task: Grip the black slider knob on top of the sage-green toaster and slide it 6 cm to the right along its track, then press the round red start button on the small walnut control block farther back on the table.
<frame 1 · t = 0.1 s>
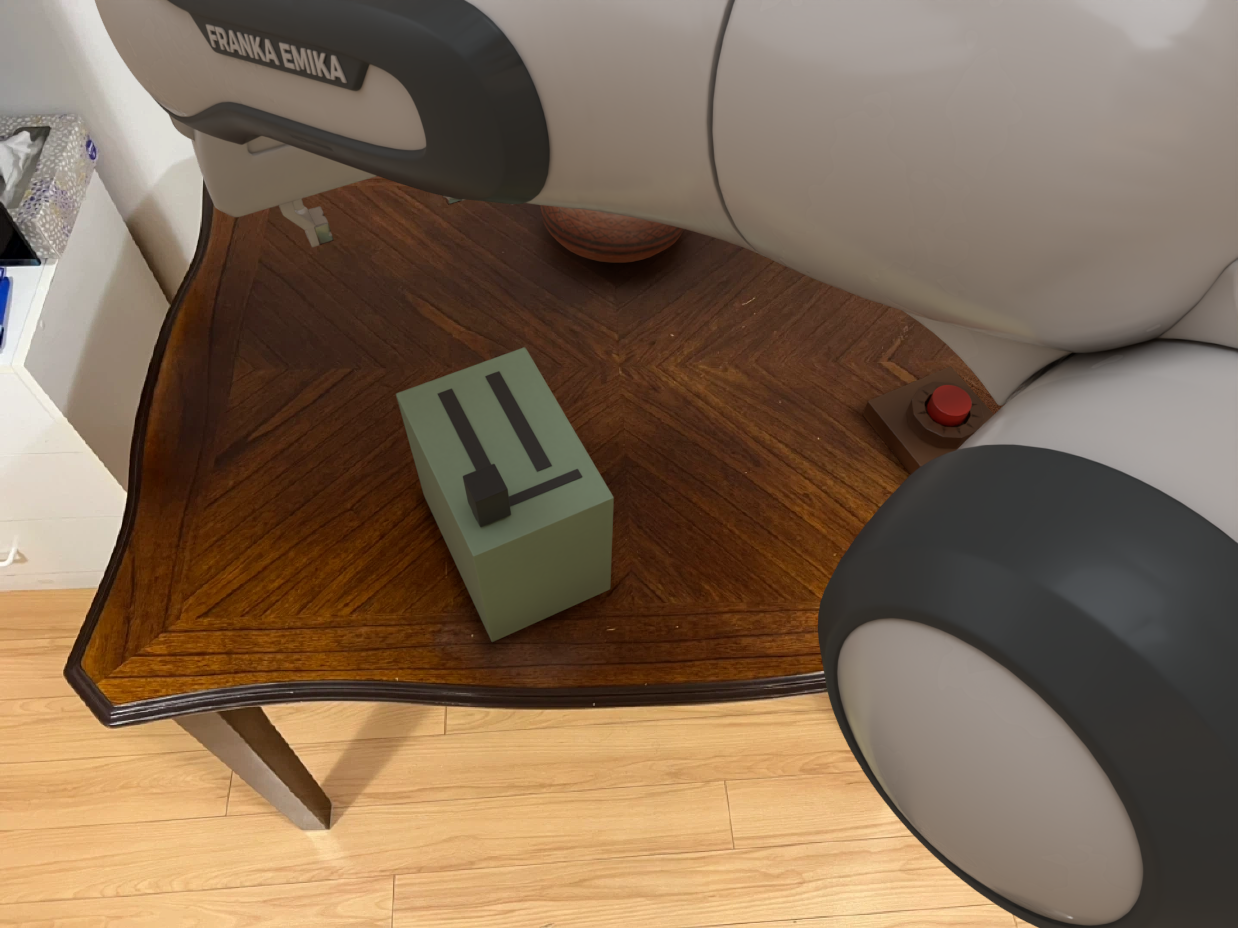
hand: (388, 217, 64), 30 cm above the table, tool pointing down, fingers open, 8 cm apart
toaster: (514, 541, 84), on the table
toaster slider: (487, 495, 67), point 17 cm above the table, slide at 0.0 cm
bowl: (614, 242, 105), on the table
start button: (949, 405, 88), point 4 cm above the table, slide at 0.1 cm
control block: (934, 433, 92), on the table
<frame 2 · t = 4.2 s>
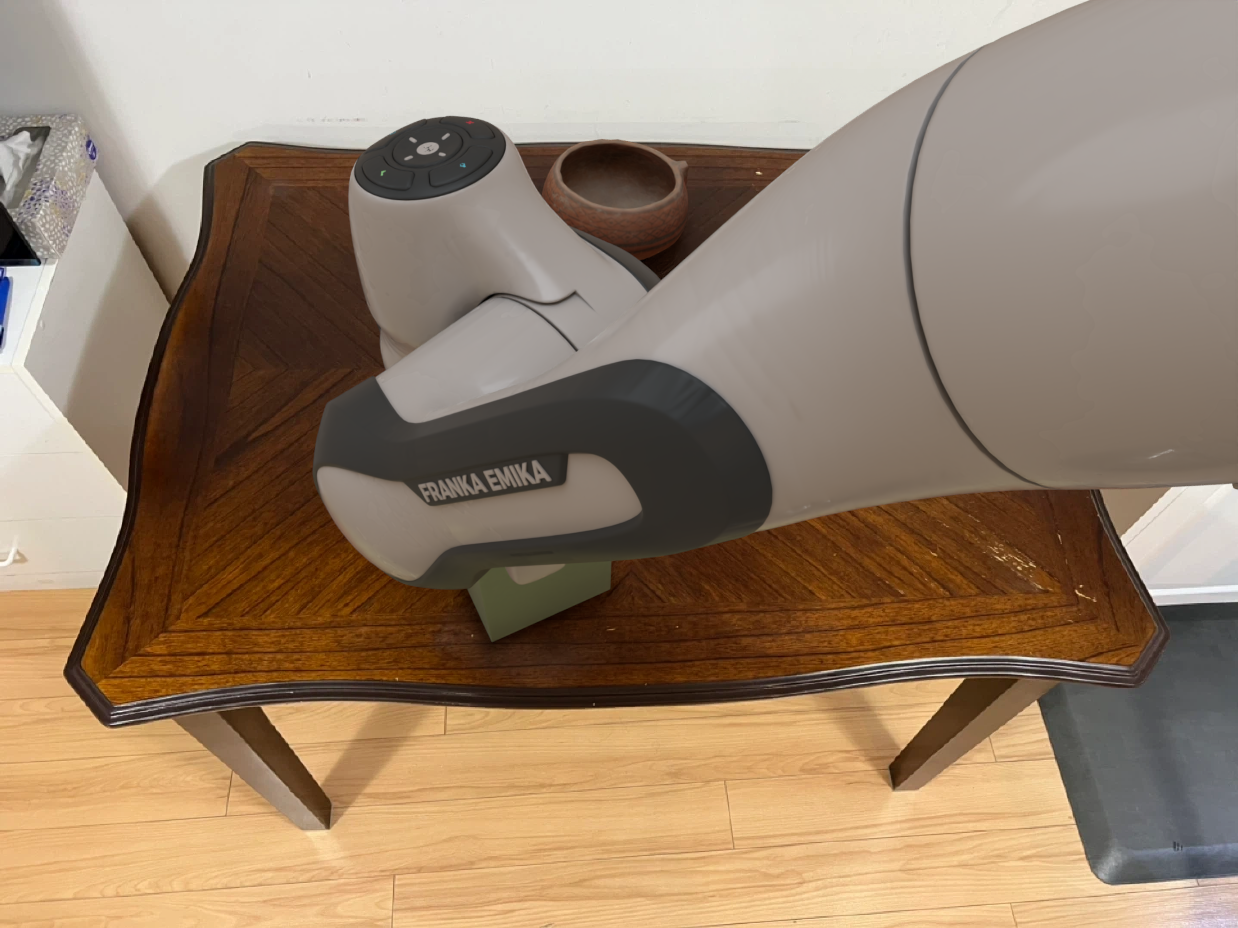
hand: (487, 498, 67), 17 cm above the table, tool pointing down, fingers closed on toaster slider, 2 cm apart
toaster slider: (487, 495, 67), point 17 cm above the table, slide at 0.0 cm, touching gripper
everything else where it was.
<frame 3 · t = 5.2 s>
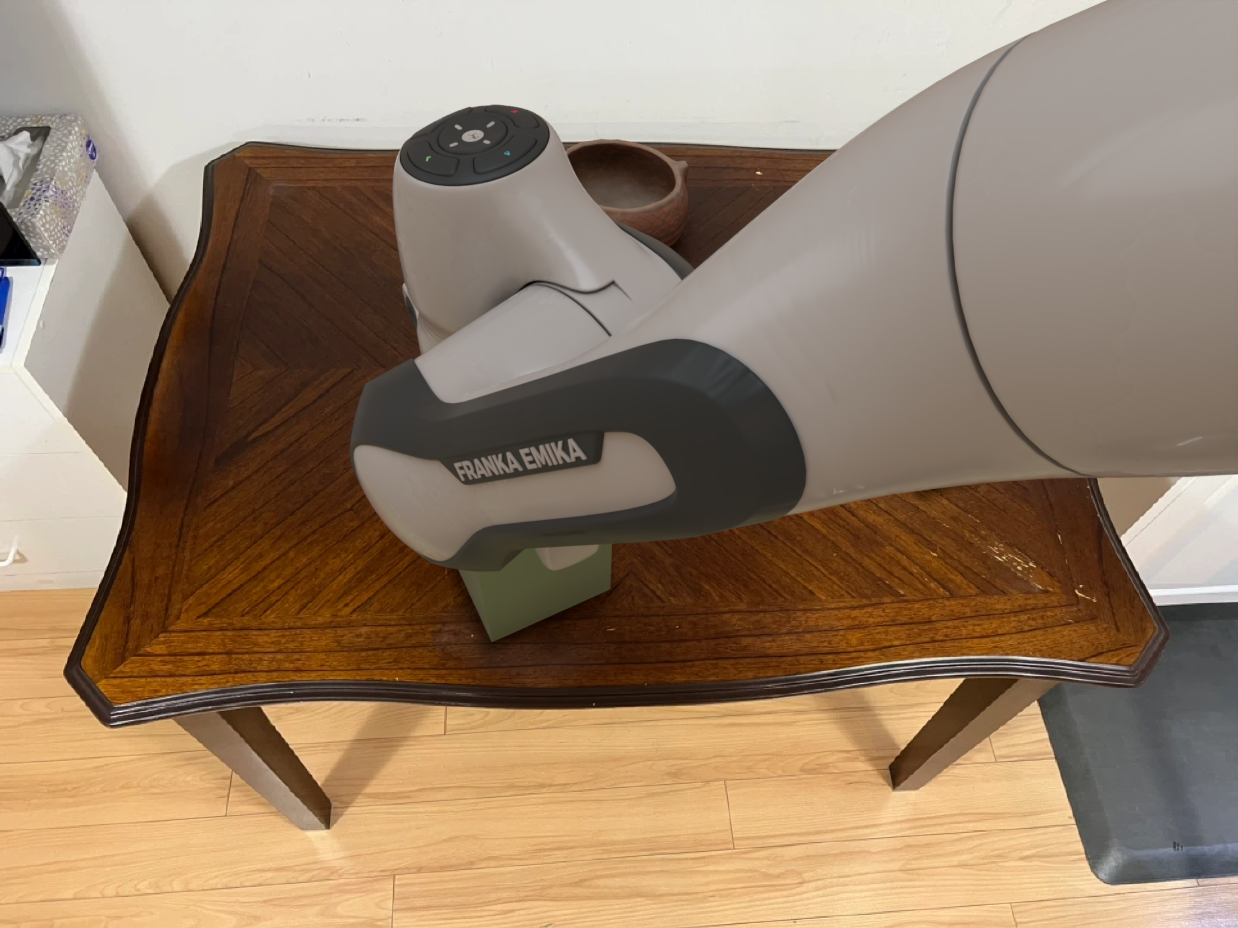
hand: (515, 486, 68), 17 cm above the table, tool pointing down, fingers closed on toaster slider, 2 cm apart
toaster slider: (515, 484, 67), point 17 cm above the table, slide at 2.1 cm, touching gripper
everything else where it was.
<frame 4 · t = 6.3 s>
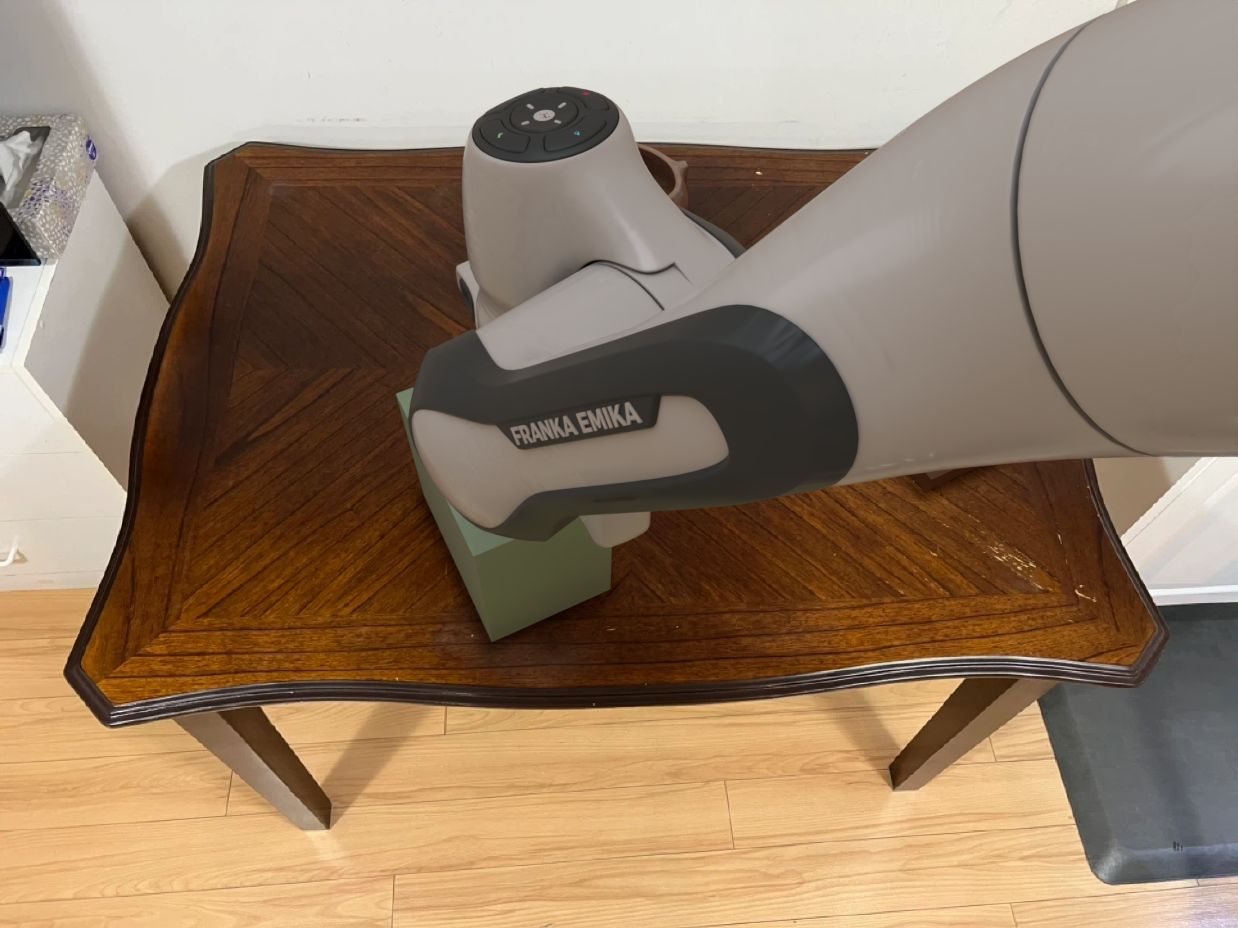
hand: (560, 468, 69), 17 cm above the table, tool pointing down, fingers closed on toaster slider, 2 cm apart
toaster slider: (561, 466, 68), point 17 cm above the table, slide at 5.7 cm, touching gripper
everything else where it was.
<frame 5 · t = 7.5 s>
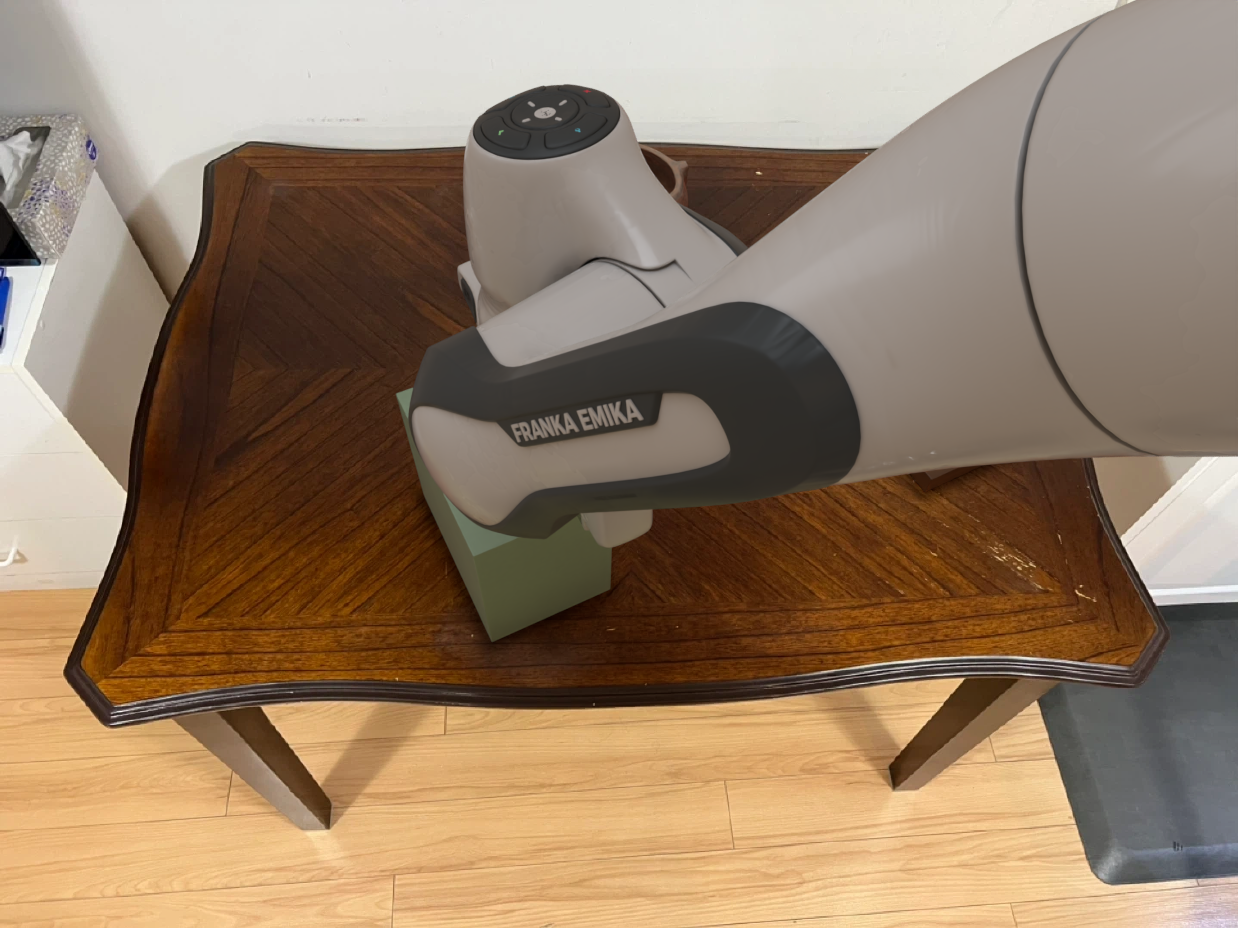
hand: (562, 469, 68), 17 cm above the table, tool pointing down, fingers open, 8 cm apart
toaster slider: (561, 465, 68), point 17 cm above the table, slide at 5.7 cm
everything else where it was.
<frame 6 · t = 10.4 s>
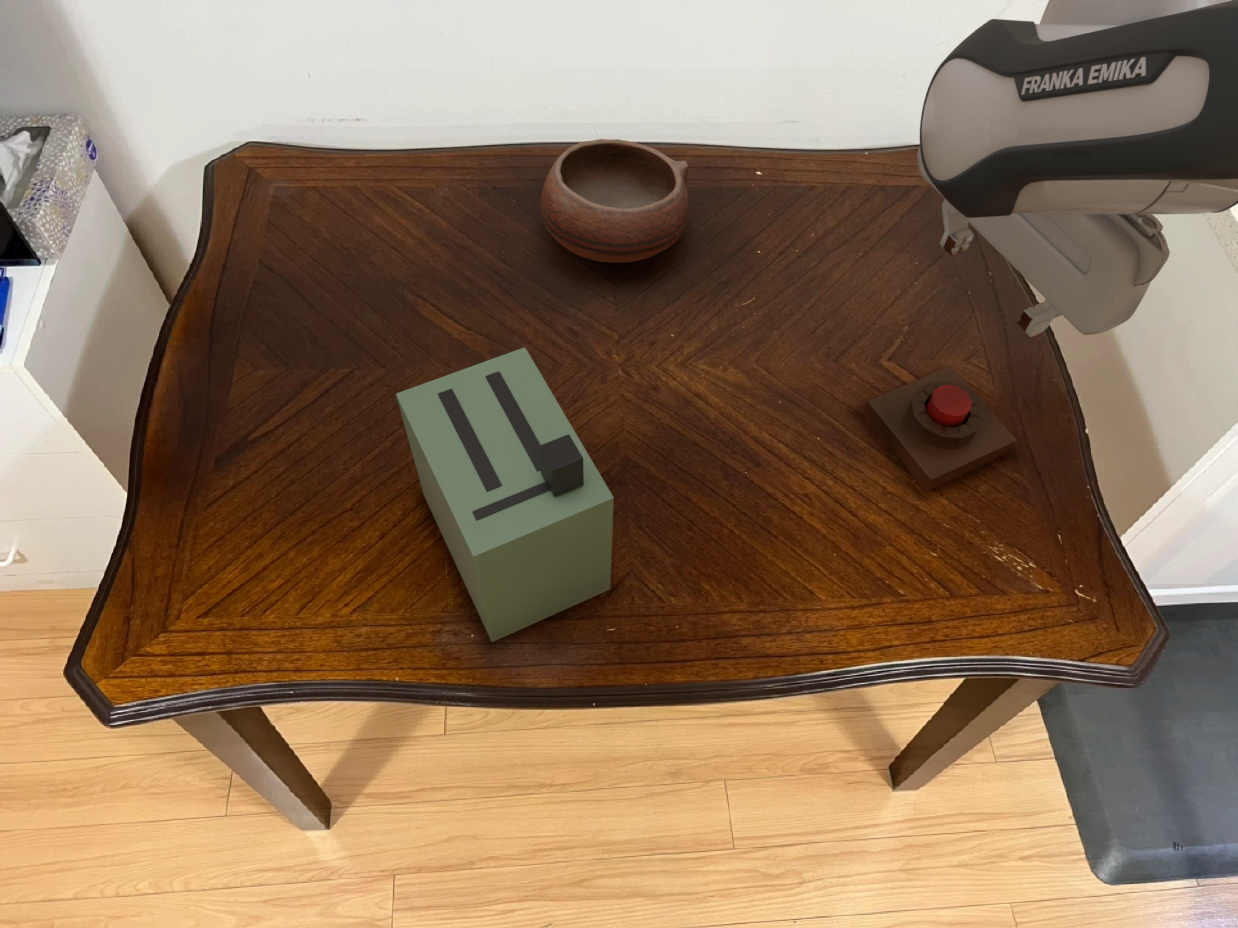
hand: (990, 287, 75), 20 cm above the table, tool pointing down, fingers open, 8 cm apart
nothing on the table moved.
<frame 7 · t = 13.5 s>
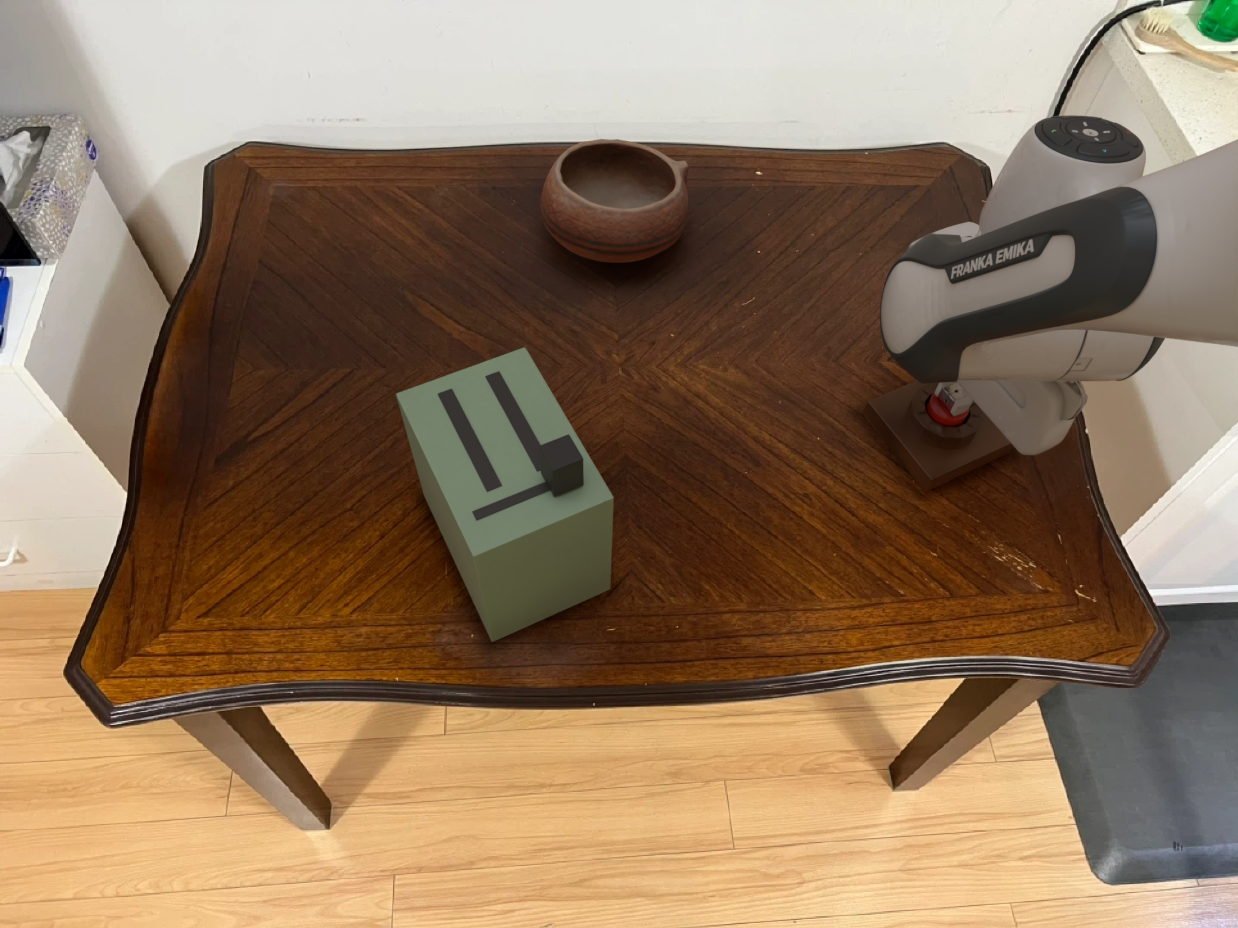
hand: (950, 403, 88), 5 cm above the table, tool pointing down, fingers closed, pressing on start button
start button: (947, 409, 88), point 4 cm above the table, slide at -0.6 cm, touching gripper
everything else where it was.
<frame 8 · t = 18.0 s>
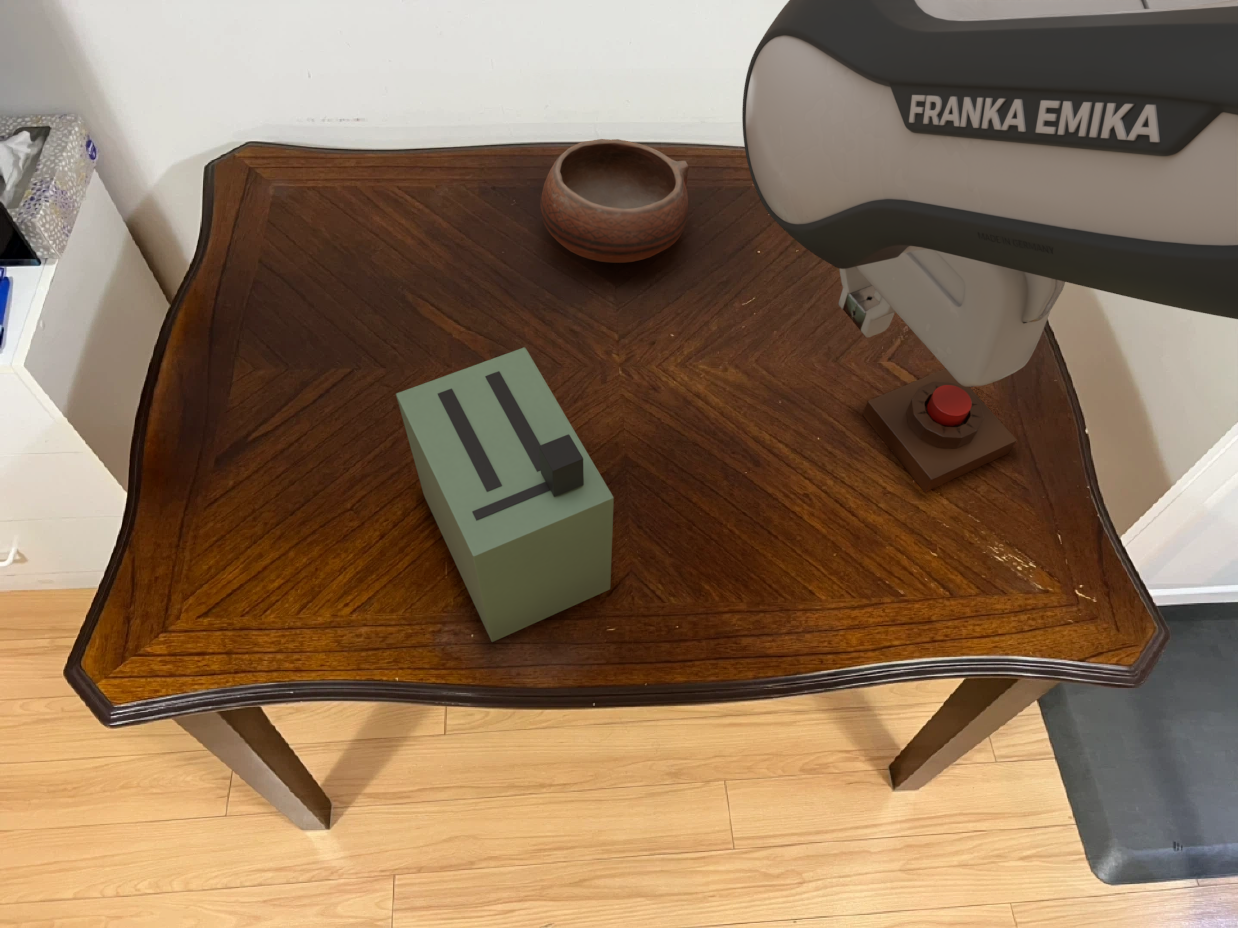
hand: (862, 318, 58), 31 cm above the table, tool pointing down, fingers closed
start button: (949, 405, 88), point 4 cm above the table, slide at 0.1 cm
everything else where it was.
at the end: toaster slider slide at 5.7 cm; start button pushed in 1.0 cm at the most during the clip, back to where it started at the end; start button slide at 0.1 cm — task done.
